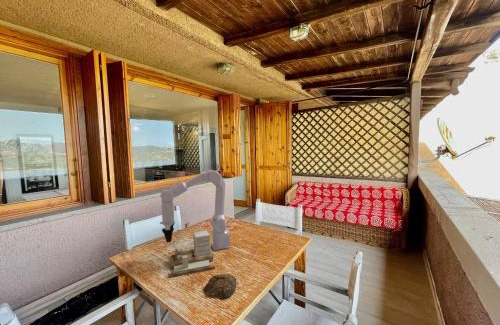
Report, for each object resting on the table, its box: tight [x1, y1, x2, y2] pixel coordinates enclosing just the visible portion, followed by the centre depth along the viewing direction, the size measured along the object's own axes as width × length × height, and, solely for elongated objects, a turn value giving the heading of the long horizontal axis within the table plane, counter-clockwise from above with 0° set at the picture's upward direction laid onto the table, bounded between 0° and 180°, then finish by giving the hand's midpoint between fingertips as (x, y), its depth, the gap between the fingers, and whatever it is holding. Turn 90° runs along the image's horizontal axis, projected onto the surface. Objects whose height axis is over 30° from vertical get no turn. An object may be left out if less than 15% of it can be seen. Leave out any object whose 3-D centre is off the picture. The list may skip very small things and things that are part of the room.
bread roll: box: [203, 273, 237, 300], centre depth 87 cm, size 13×12×5 cm
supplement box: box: [192, 229, 211, 257], centre depth 112 cm, size 7×7×13 cm
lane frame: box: [168, 254, 216, 278], centre depth 107 cm, size 20×20×1 cm
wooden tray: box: [174, 245, 214, 265], centre depth 111 cm, size 18×10×5 cm, turn 108°
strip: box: [173, 255, 211, 273], centre depth 102 cm, size 16×5×6 cm, turn 108°
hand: (169, 238), depth 112 cm, fingers open, 7 cm apart
